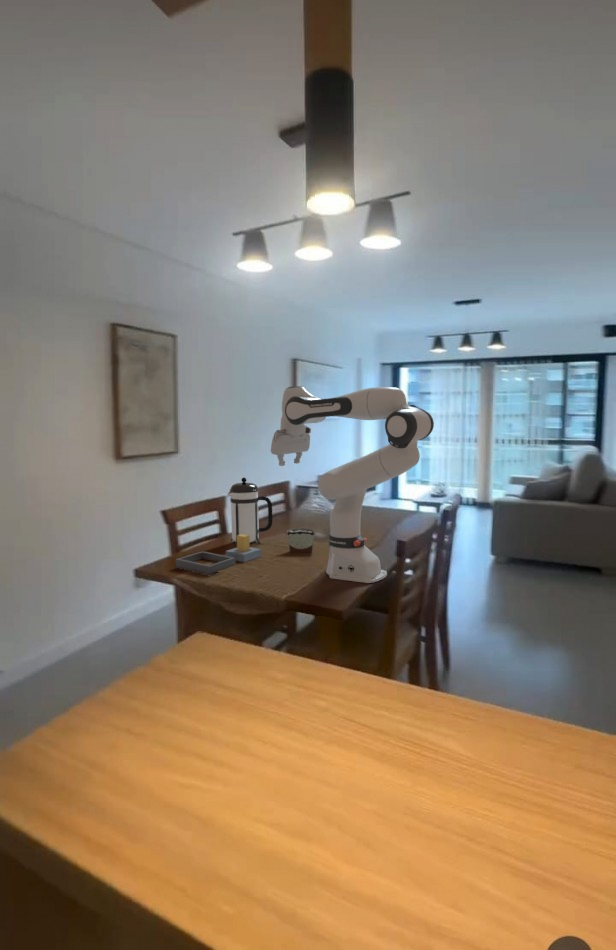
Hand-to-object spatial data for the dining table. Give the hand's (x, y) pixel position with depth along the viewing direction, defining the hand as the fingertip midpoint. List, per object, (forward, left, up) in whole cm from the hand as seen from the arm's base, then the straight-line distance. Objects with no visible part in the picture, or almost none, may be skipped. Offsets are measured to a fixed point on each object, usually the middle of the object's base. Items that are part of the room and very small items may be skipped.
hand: (289, 464), depth 212 cm
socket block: (+18, +8, -39) cm, 44 cm away
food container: (+5, -14, -39) cm, 42 cm away
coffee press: (+35, -14, -39) cm, 54 cm away
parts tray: (+23, +24, -39) cm, 51 cm away
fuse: (+18, +8, -38) cm, 43 cm away
